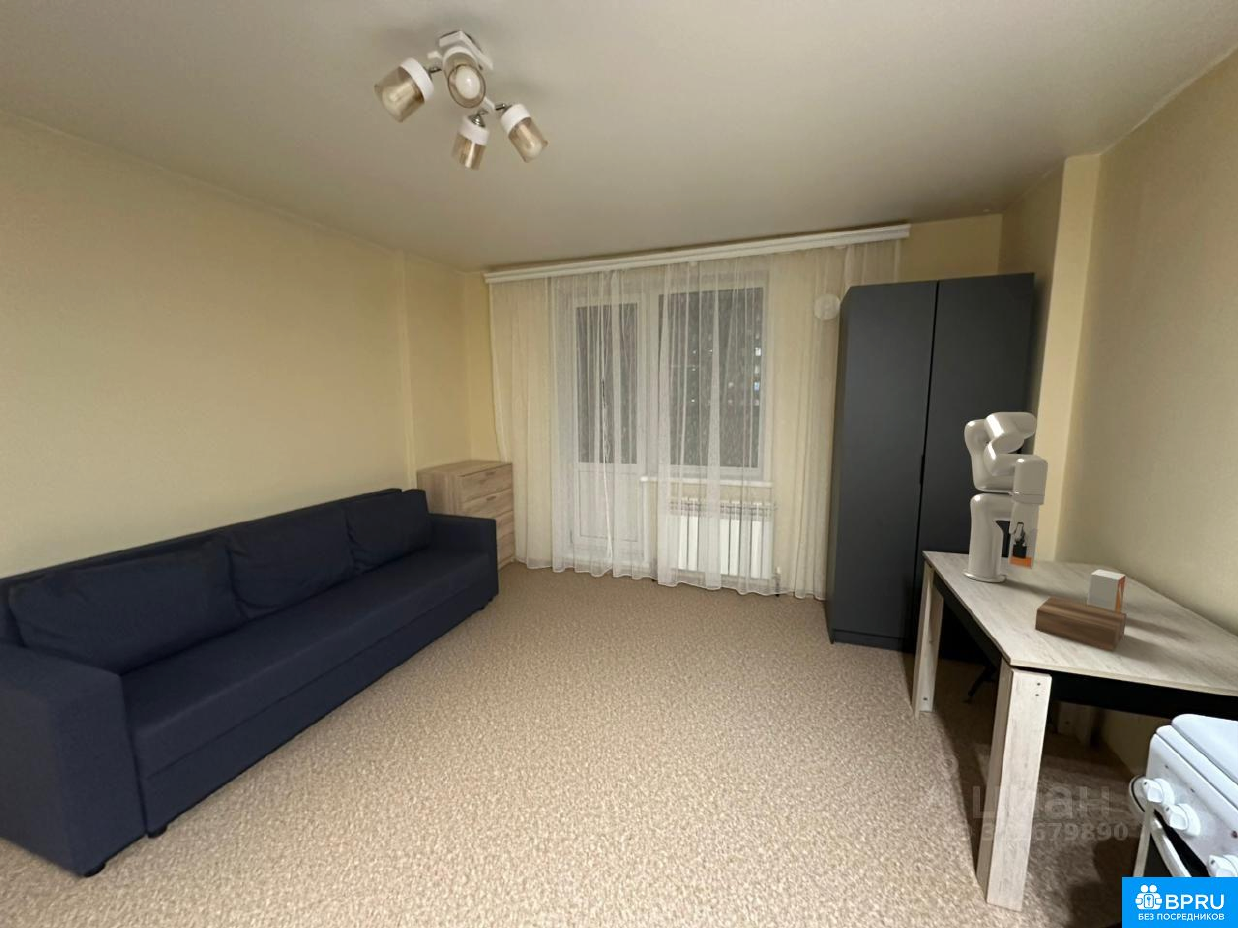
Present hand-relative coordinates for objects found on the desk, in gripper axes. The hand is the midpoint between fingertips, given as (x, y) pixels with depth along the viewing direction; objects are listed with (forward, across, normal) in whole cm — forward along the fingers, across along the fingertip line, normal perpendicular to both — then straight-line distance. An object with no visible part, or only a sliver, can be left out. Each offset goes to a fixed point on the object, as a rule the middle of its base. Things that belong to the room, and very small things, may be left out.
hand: (1021, 555), depth 151 cm
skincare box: (+4, 0, 0) cm, 4 cm away
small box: (+18, -16, +18) cm, 30 cm away
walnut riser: (+17, +5, +16) cm, 24 cm away
